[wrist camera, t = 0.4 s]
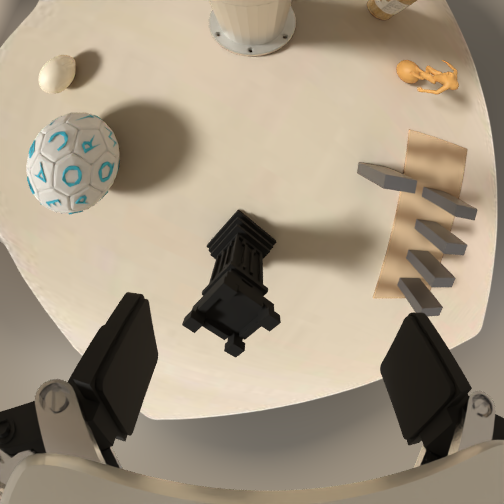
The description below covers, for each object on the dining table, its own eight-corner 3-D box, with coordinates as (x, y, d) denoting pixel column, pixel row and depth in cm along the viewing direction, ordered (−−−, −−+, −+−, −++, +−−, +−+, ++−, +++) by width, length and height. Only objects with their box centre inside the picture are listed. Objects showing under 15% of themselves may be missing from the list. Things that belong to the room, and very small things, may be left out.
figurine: (407, 51, 29) (448, 37, 18) (430, 78, 30) (474, 73, 20) (380, 78, 32) (420, 67, 21) (405, 105, 33) (449, 105, 23)
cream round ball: (89, 70, 31) (67, 66, 25) (64, 100, 33) (40, 101, 27) (74, 50, 29) (52, 44, 23) (50, 79, 31) (27, 78, 25)
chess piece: (275, 240, 45) (286, 322, 27) (244, 272, 47) (236, 360, 29) (238, 209, 42) (222, 277, 24) (207, 244, 45) (177, 324, 27)
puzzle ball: (99, 213, 43) (50, 250, 29) (54, 156, 38) (-3, 176, 24) (153, 154, 39) (104, 172, 25) (101, 93, 33) (42, 90, 20)
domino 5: (399, 277, 47) (422, 308, 38) (419, 277, 47) (442, 307, 38) (397, 285, 48) (418, 316, 39) (416, 285, 48) (439, 315, 39)
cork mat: (409, 129, 35) (410, 129, 35) (465, 148, 35) (467, 149, 35) (372, 297, 49) (373, 298, 49) (426, 296, 49) (427, 297, 49)
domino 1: (358, 162, 38) (385, 174, 29) (386, 166, 38) (417, 180, 29) (357, 173, 39) (383, 188, 30) (384, 177, 39) (414, 193, 30)
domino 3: (416, 219, 41) (446, 242, 33) (436, 221, 41) (467, 244, 33) (414, 228, 42) (443, 253, 33) (434, 230, 42) (463, 255, 33)
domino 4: (408, 249, 44) (435, 277, 35) (428, 251, 44) (455, 277, 35) (405, 258, 45) (431, 287, 36) (425, 259, 45) (451, 287, 36)
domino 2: (423, 186, 39) (457, 204, 30) (443, 191, 39) (477, 209, 30) (421, 196, 40) (454, 216, 31) (441, 200, 40) (474, 220, 31)
